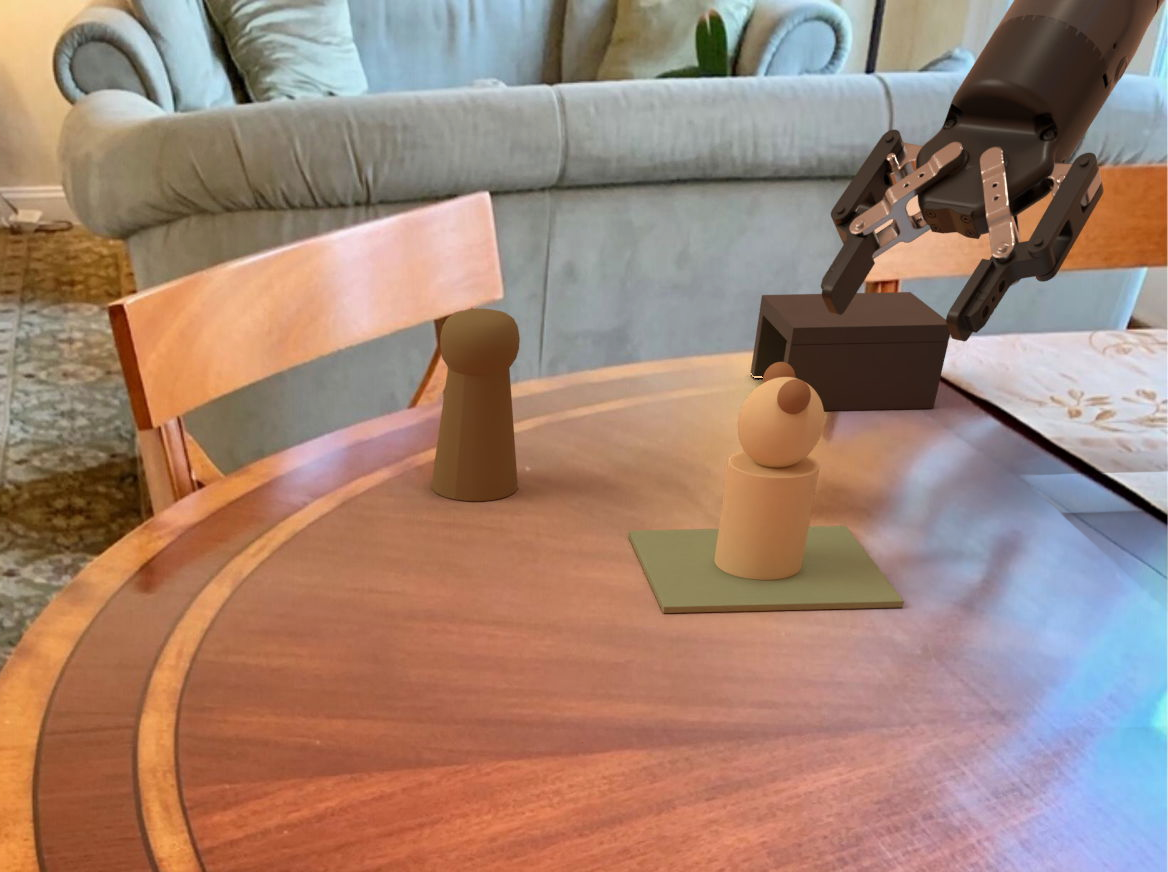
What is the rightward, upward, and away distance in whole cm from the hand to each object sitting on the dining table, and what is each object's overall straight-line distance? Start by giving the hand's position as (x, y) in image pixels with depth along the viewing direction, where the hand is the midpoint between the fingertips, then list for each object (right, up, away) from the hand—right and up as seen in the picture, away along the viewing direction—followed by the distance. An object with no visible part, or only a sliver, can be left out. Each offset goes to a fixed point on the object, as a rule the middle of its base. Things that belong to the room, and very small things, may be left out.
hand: (890, 318), depth 86 cm
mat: (-7, -13, +4) cm, 15 cm away
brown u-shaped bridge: (+7, +10, +32) cm, 34 cm away
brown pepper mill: (-23, -4, +16) cm, 28 cm away
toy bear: (-7, -13, +4) cm, 15 cm away
